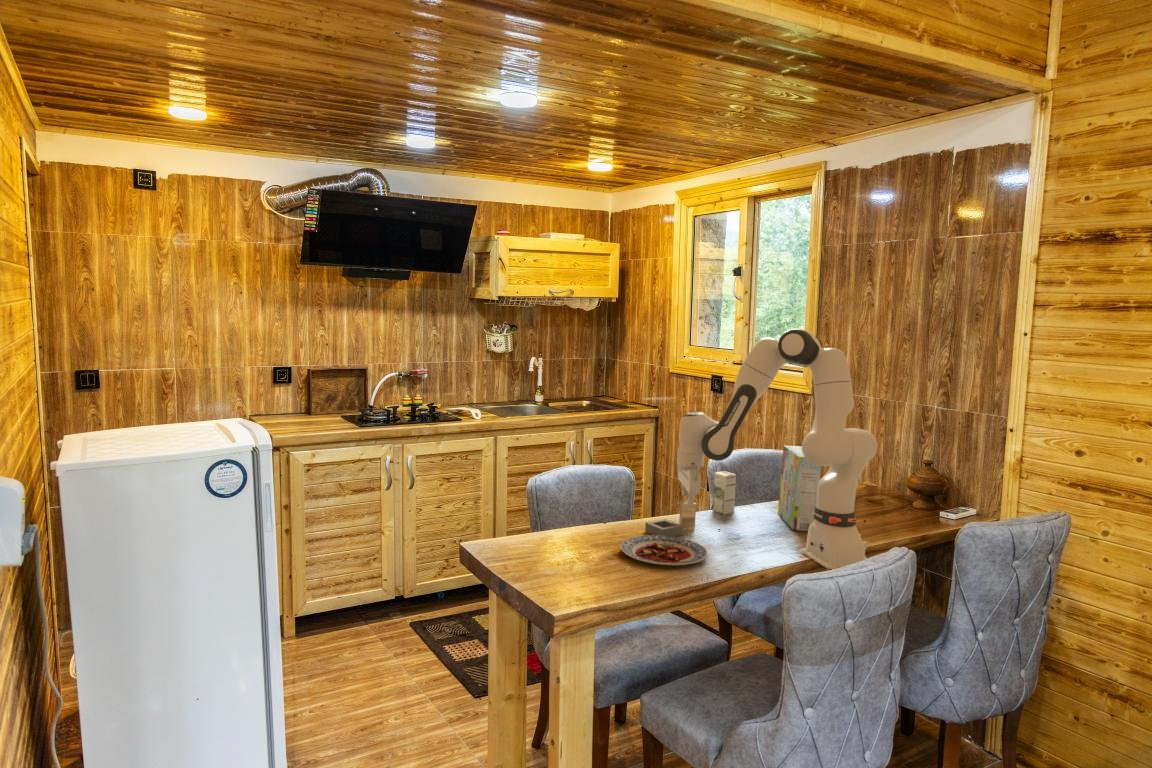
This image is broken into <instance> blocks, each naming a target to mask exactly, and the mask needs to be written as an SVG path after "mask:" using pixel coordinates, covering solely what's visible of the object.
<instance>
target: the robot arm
mask: <svg viewBox="0 0 1152 768" xmlns="http://www.w3.org/2000/svg"><path fill="white" fill-rule="evenodd" d="M786 364H787V365H792V366H797V367H801V368H809V370H810V371H811V374H812V381H813V392H814V402H815V403H814V404H815V412H814V413H815V414H814V419H813V423H812V426H811V428H810V430H809V432H807V434H806V435H805V436H804V438H803V440H802V442H801V446H802V453H803V456H804V458H805V459H806V460H807V461H808V462H809V463H811V464H814V465H819V466H822V467H829V469H827V472H826V473H825V474H824V475H823V476H822V477H820V480H819V482H818V487H817V501H816V506H815V508H814V521H813V523H812V524H811V525H810V526H809V529H808V531H807V537H806V544H805V547H803V548H802V549H801V551H800V553H801V552H803V553H805V554H806V555H808V556H810V557H812V558H813V559H814V560H813V559H812V560H813V561H814V562H816V563H818V564H819V565H821V566H823V568H826V569H828V570H832V569H835V568H839V567H843V566H846V565H849V564H852V563H856V562H859V561H862V560H864V559H868V558H867V556H866V550H867V549H868V542H867V541H863V539H862V534H861V533H859V531H858V528H857V515H856V511H855V502H856V495H857V494H856V493H857V487H858V484H859V481H860V478H861V475H862V473H863V471H864V469H865V468H866V466H867V464H868V463H869V462H870V461H871V460H872V459H873V458H874V457H875V456H876V455H877V453H878V442H877V441H878V440H877V439H876V437H875V435H874V434H873V433H872V432H871V431H869V430H866V429H862V428H857V427H853V428H852V427H851V428H850V427H849V428H845V425H846V424H845V422H846V420H847V419H846V418H848V415H849V414H850V413H851V412H852V411H853V410H854V407H855V399H854V393H853V384H852V377H851V376H852V375H851V370H850V367H849V362H848V359H847V357H846V355H845V353H844V351H843V350H841V349H839V348H836V347H824V346H823V344H822V341H821V340H820V339H819V338H818V337H817V336H815V335H814V334H813V333H811V332H810V331H807V330H804V329H802V328H791V329H789V330H787V331H785V332H784V333H783V334H781V336H780V337H779V339H776V338H773V337H763V338H760V339H759V340H758V341H757V342H756V343H755V344H754V346H753V347H752V349H751V350H750V352H749V353H748V354H747V356H746V357H745V358H744V361H743V362H742V363H741V365H740V367H739V370H738V372H737V374H736V378H735V381H734V387H733V393H732V396H731V399H730V401H729V403H728V406H726V407H727V408H726V409H725V411H724V412H723V415H722V416H721V418H720V420H719V421H717V420H715V419H713V418H711V417H709V416H708V415H707V414H706V413H705V412H702V411H692V412H687V413H685V414H684V415H683V416H682V417H681V419H680V423H679V428H678V429H679V430H678V440H679V445H678V447H677V452H676V454H675V455H676V457H675V459H676V465H677V479H678V480H679V482H680V483H681V495H682V497H683V498H684V497H688V498H687V500H688V504H689V505H693V504H694V502H695V498H696V495H700V494H701V491H702V490H701V488H702V487H701V486H702V473H701V471H700V468H703V467H704V461H705V457H707V459H710V460H712V461H716V462H717V461H718V462H719V461H723V460H724V461H725V460H726V459H728V458H729V457H730V456H731V455H732V454H733V452H734V451H733V450H734V448H735V447H734V446H735V437H736V435H737V432H738V431H739V428H740V427H741V425H742V423H743V421H744V420H745V418H746V416H747V414H748V413H749V411H750V410H751V408H752V407H753V406H754V405H755V404H756V402H757V401H758V400H759V399H760V398H761V396H763V395H764V393H765V392H767V390H768V388H770V385H771V384H772V382H773V381H774V379H775V377H776V376H777V374H778V372H779V371H780V369H781V368H782V367H783V366H785V365H786ZM803 553H802V554H803ZM806 555H805V556H806ZM808 556H807V557H808Z"/></svg>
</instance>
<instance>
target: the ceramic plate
mask: <svg viewBox="0 0 1152 768" xmlns="http://www.w3.org/2000/svg"><path fill="white" fill-rule="evenodd" d="M620 548H621V551H622V552H623V554H625V555H627V557H629V558H632V559H634V560H638V561H640V562H645V563H648V564H653V565H660V566H685V565H693V564H695V563H700V562H701V561H703V560H705V559H706V558H707V556H708V554H709V553H708V550H707V548H705V547H704V546H703V545H701V544H700V543H698V542H695V541H693V540H690V539H687V538H682V537H678V536H674V537H672V536H661V535H652V534H650V535H640V536H634V537H631V538H628V539H626V540H624V541H623V542H622V543H621V545H620Z"/></svg>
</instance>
